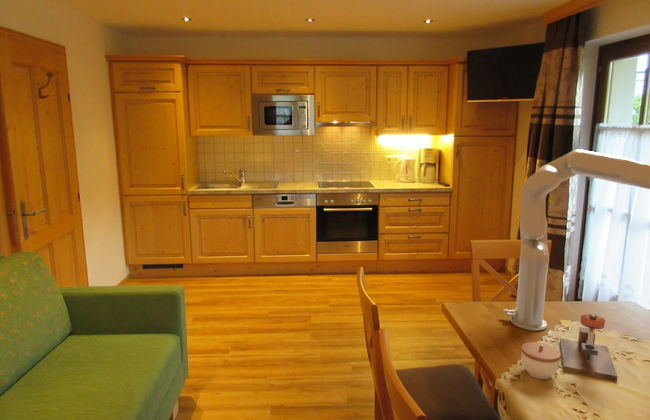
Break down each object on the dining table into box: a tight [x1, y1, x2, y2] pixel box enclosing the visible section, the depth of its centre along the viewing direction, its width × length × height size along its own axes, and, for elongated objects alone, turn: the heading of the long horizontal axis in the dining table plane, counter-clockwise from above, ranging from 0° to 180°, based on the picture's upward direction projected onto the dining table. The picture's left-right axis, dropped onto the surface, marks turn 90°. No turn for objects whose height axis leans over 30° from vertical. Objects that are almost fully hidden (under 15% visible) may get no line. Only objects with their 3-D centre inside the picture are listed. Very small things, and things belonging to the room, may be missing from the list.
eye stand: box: [559, 326, 619, 382], centre depth 143 cm, size 14×20×8 cm
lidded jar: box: [520, 341, 562, 380], centre depth 135 cm, size 11×11×9 cm
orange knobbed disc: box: [579, 313, 606, 360], centre depth 138 cm, size 6×6×14 cm
